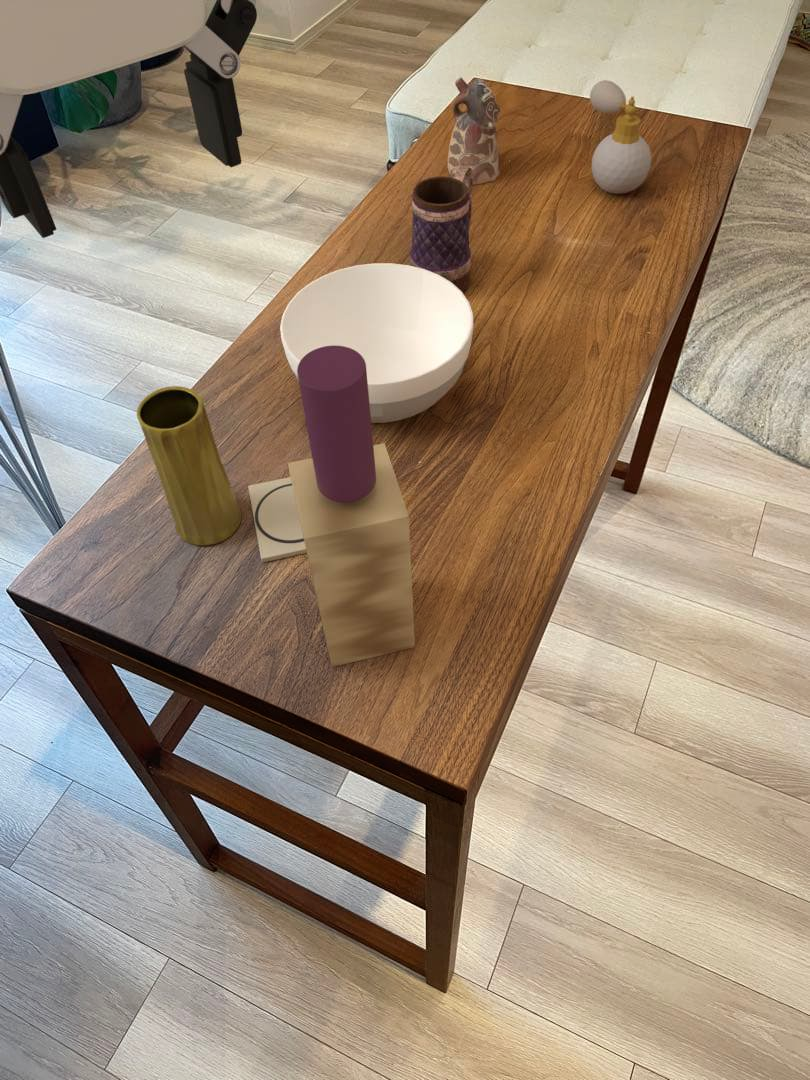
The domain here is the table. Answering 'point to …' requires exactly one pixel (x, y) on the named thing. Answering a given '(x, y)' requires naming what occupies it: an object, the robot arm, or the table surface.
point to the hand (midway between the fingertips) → (134, 188)
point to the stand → (359, 563)
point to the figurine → (475, 131)
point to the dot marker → (338, 422)
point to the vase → (189, 465)
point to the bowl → (386, 331)
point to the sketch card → (276, 519)
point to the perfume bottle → (619, 143)
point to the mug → (443, 225)
